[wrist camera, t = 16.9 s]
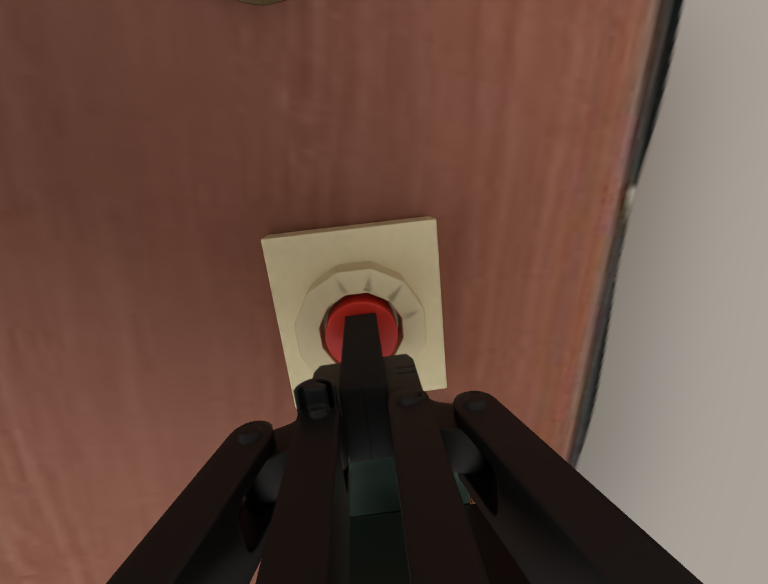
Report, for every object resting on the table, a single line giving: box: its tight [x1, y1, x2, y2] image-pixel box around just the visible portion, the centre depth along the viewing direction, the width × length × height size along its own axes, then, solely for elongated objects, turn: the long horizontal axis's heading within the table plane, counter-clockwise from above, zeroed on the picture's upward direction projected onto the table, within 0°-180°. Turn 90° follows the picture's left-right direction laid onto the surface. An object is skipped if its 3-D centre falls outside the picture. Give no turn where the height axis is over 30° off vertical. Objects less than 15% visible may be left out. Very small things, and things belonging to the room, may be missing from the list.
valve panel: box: [348, 457, 470, 518], centre depth 25 cm, size 18×18×2 cm
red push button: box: [325, 293, 398, 363], centre depth 19 cm, size 4×4×2 cm
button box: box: [261, 216, 447, 408], centre depth 20 cm, size 10×9×4 cm
